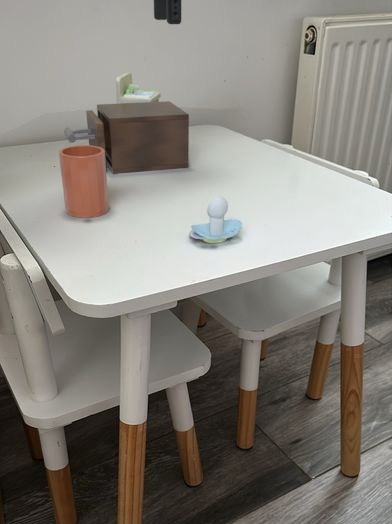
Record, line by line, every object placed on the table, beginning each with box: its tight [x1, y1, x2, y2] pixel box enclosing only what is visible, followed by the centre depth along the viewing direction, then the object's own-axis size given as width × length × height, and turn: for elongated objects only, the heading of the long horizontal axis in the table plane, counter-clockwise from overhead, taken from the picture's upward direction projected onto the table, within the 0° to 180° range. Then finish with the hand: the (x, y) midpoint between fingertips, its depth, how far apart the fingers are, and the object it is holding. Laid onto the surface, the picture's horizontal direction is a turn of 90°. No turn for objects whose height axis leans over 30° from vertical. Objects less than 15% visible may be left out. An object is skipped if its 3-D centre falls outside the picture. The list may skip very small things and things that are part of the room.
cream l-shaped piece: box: [115, 72, 162, 104], centre depth 119 cm, size 8×7×13 cm
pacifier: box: [188, 196, 243, 244], centre depth 77 cm, size 7×6×6 cm
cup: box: [58, 144, 110, 219], centre depth 84 cm, size 7×7×9 cm
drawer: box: [63, 110, 112, 169], centre depth 105 cm, size 18×11×8 cm, turn 108°
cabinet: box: [96, 100, 190, 174], centre depth 107 cm, size 15×13×10 cm
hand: (167, 21), depth 91 cm, fingers open, 8 cm apart
